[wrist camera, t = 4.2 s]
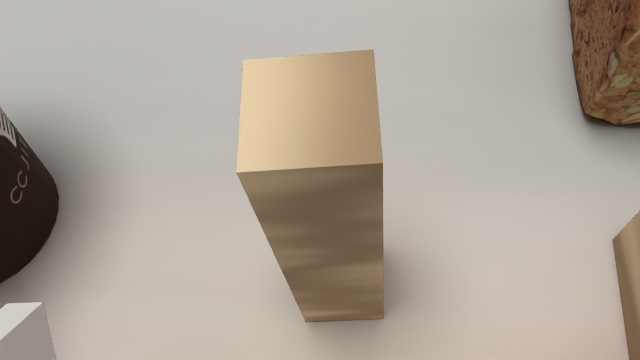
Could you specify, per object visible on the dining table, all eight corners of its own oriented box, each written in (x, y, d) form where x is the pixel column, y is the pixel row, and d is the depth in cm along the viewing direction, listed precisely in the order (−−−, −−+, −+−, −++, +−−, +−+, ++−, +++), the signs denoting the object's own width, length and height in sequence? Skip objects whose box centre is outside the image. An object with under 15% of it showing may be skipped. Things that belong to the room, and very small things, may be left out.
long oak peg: (305, 321, 20) (236, 172, 11) (305, 249, 22) (243, 60, 12) (383, 318, 20) (382, 162, 11) (378, 245, 22) (373, 49, 12)
